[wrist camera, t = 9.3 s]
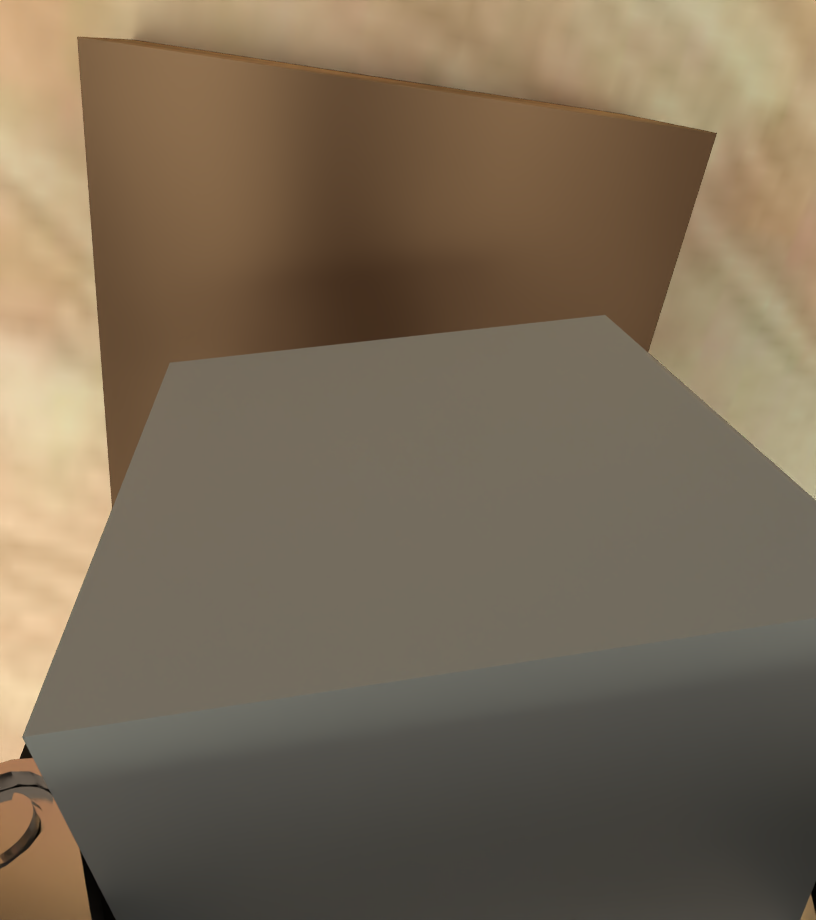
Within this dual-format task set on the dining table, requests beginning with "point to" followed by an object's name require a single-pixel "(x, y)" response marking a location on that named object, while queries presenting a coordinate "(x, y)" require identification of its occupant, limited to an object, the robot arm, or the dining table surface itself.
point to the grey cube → (442, 644)
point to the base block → (354, 212)
